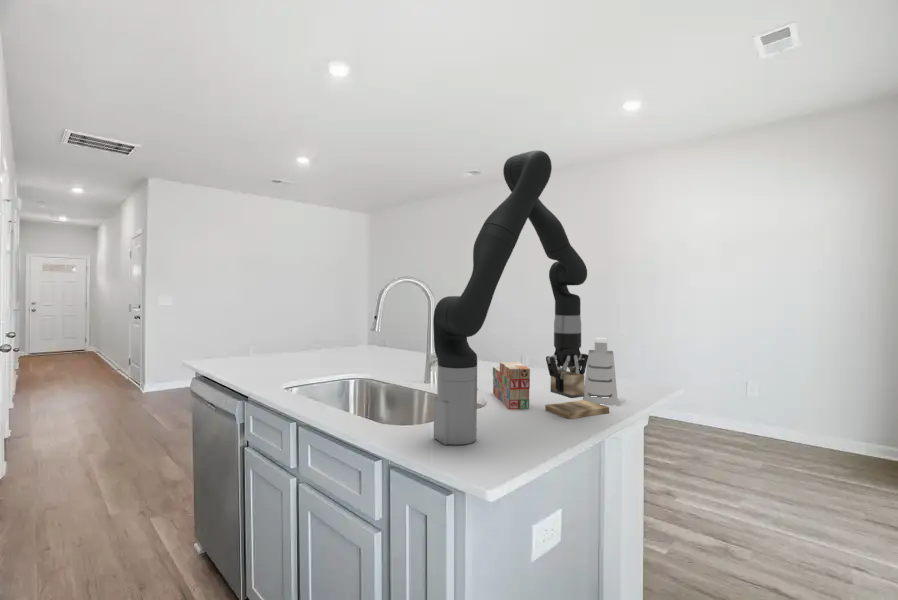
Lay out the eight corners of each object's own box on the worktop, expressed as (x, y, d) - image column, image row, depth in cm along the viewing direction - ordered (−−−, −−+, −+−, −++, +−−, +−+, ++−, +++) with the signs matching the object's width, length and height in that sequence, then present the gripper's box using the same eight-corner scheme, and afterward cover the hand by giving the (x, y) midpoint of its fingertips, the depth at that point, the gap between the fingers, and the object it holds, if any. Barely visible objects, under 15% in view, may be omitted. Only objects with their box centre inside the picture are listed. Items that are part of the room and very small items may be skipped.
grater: (582, 403, 144) (583, 339, 143) (583, 396, 154) (584, 336, 153) (618, 406, 140) (619, 340, 140) (617, 398, 150) (618, 337, 150)
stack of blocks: (492, 394, 156) (492, 357, 156) (510, 393, 157) (510, 357, 157) (509, 410, 135) (509, 368, 135) (529, 409, 136) (530, 367, 136)
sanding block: (571, 398, 127) (571, 376, 126) (550, 391, 135) (550, 371, 134) (584, 396, 129) (584, 375, 128) (562, 390, 137) (562, 370, 137)
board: (568, 419, 126) (568, 413, 126) (545, 410, 135) (545, 404, 134) (609, 412, 132) (609, 407, 132) (584, 405, 141) (584, 399, 141)
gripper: (556, 333, 125) (556, 396, 125) (596, 331, 131) (595, 391, 131) (539, 331, 131) (538, 390, 132) (577, 329, 138) (577, 386, 138)
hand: (567, 390), depth 132 cm, fingers closed on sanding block, 4 cm apart
